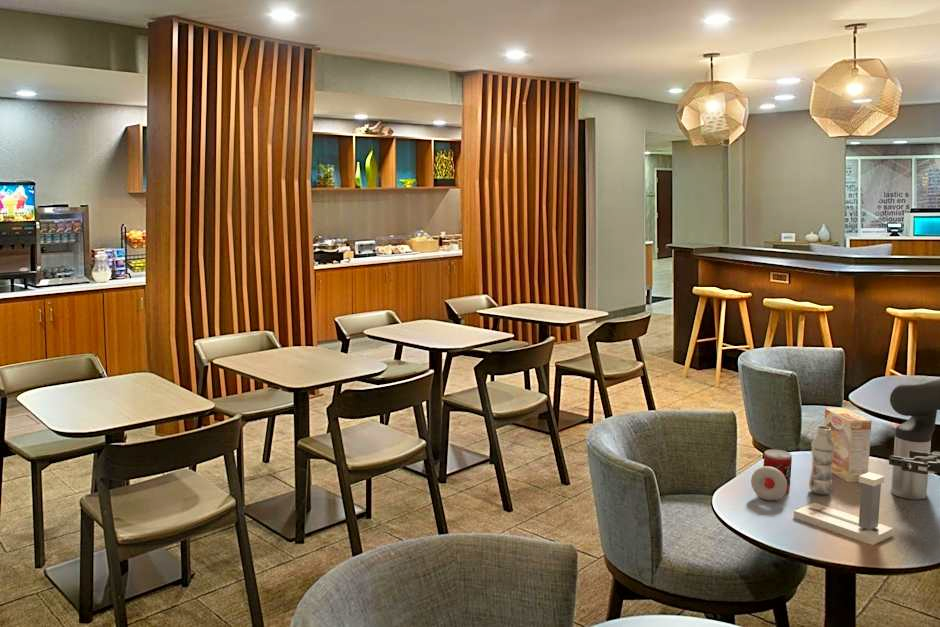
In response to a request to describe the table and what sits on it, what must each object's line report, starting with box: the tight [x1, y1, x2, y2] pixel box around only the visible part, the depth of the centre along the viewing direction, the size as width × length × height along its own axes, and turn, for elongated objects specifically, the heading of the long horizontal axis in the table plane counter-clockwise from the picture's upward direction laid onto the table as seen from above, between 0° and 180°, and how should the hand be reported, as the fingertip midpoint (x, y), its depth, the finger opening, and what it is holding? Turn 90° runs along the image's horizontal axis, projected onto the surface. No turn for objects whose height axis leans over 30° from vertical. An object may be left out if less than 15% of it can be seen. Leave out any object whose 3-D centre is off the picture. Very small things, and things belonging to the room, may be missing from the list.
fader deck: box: [793, 502, 894, 546], centre depth 216 cm, size 10×22×2 cm, turn 36°
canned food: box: [763, 448, 793, 493], centre depth 244 cm, size 8×8×11 cm
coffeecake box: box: [823, 407, 873, 483], centre depth 256 cm, size 15×7×20 cm, turn 6°
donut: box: [750, 465, 787, 501], centre depth 235 cm, size 10×3×10 cm, turn 57°
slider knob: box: [858, 471, 886, 530], centre depth 210 cm, size 5×4×14 cm
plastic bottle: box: [808, 425, 835, 495], centre depth 239 cm, size 6×7×20 cm
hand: (899, 457), depth 200 cm, fingers open, 8 cm apart
